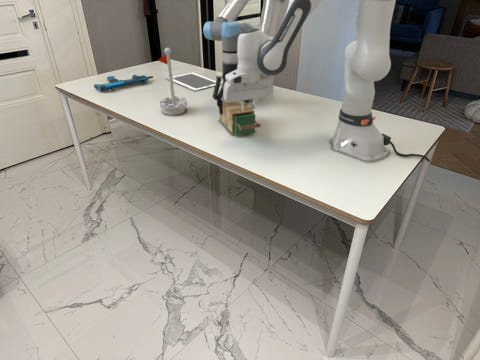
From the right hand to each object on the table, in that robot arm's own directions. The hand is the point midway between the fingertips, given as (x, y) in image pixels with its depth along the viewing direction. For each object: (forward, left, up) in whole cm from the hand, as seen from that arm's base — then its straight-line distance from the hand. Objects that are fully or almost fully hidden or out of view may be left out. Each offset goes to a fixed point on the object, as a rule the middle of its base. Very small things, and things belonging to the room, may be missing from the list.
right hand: (248, 109), depth 136 cm
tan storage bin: (+14, -3, -13) cm, 19 cm away
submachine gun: (+106, +16, -13) cm, 108 cm away
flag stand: (+47, +11, -13) cm, 50 cm away
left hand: (+19, -5, -8) cm, 21 cm away
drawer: (+8, -2, -12) cm, 14 cm away
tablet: (+84, -21, -13) cm, 87 cm away
